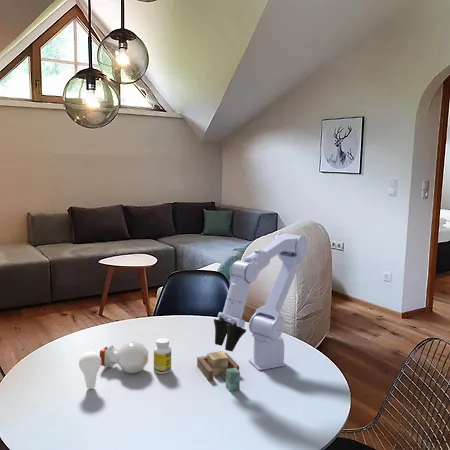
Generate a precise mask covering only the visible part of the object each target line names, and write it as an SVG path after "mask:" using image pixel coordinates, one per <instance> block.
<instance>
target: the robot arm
mask: <svg viewBox="0 0 450 450" xmlns="http://www.w3.org/2000/svg"><path fill="white" fill-rule="evenodd" d="M308 244H309V243H308V238H307V237H306V236H305V235H297V234H291V233H284V232H279V233H277V234H276V235H275V236H274V239H273V241H271V243H269V244H268V245H267V246H266V247H265V248H264V249H257V248H256V249H254V251H253V252H252V253H251V254H249V255H248V256H245V258H243V260H240V259H238V260H236V261H235V262H233V263H232V265H231V266H230V267H229V275H230V277H229V288H228V291H227V294H226V299H225V302H224V307H223V310H222V312H221V311H219V312H218V314H217V319H216V318H214V319H213V324H214V330H215V331H214V332H215V333H214V344H215V345H217V346H223V345H224V342H225V345H224V350H225V351H228V352H233V351H234V350H235V348H236V346H237V344H238V342H239V341H240V339H241V338H242V336H243V335H244V334H245V333H247V329H246V328H245V325H246V320H244V319H242V318H243V314H244V310H245V306H246V303H247V299H248V296H249V291H250V287H251V284H252V283H253V282H255V281H256V280H257V278H258V275H259V274H260V272H261V271H263V270H264V269H265V268H266V267H268V266H269V265H270V263H271V259H273V258H275V257H276V256H278V259H279V260H280V261H281V263H282V264H281V267H280V270H279V272H278V274H277V276H276V279H275V281H274V283H273V286H272V288H271V290H270V293H269V296H268V297H267V300H266V303H265V305H263V306H260V307H258V308H256V310H255V311H254V313H253V315H252V316H251V317H250V320H249V322H248V330H249V332H250V333H251V336H252V337H253V357H251V358H248V361H249V362H250V363H251V364H252V365H253V366H254V368H256V369H257V370H258V371H263V370H268V369H273V368H274V369H275V368H279V367H284V366H285V365H286V364H285V341H284V339H283V337H282V334H283V327H284V324H285V318H284V316H283V315H282V312H281V310H282V308H283V306H284V303H285V301H286V298H287V297H288V296H287V295H288V294H289V290H290V289H291V286H292V284H293V281H294V279H295V277H296V274H297V272H298V270H299V267H300V265H301V264H302V263H303V261H304V259H305V257H306V253H307V251H308V249H309V245H308Z"/></svg>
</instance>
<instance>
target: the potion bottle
mask: <svg viewBox="0 0 450 450" xmlns="http://www.w3.org/2000/svg"><path fill="white" fill-rule="evenodd" d="M99 356H100V358H101V367H102V366H103V367H105V368H106V367H108V368H110V369H112V368H113V367H114V366H115V365H119V367H120V369H121V371H123V372H125V373H127V374H132V375H133V374H137V373H140V372H142V371H143V370H144V369H145V367H146V366H147V364H148V363H149V351H148V350H147V348H146V347H145V345H144V344H143V343H140V342H137V341H130V342H127V343H125V344H123V345H122V346H121V348H120V349H116V348H115V346H114V345H111V346H109V347H108V346H105V347H104V348H102V349H101V350H100V351H99Z"/></svg>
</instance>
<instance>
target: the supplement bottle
mask: <svg viewBox="0 0 450 450" xmlns="http://www.w3.org/2000/svg"><path fill="white" fill-rule="evenodd" d="M155 345H156V346H154V348H153V372H155V373H156V374H160V375H164V374H165V375H166V374H169V373H170V372H171V371H172V347H171V346H170V339H168V338H166V337H161V338H157V339H156V341H155Z"/></svg>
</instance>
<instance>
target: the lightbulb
mask: <svg viewBox="0 0 450 450" xmlns="http://www.w3.org/2000/svg"><path fill="white" fill-rule="evenodd" d="M78 367H79V370H80V371H81V372H82V374H83V376H84V381H85V387H86V389H89V390H93V389H94V388H95V387H96V383H97V382H96V381H97V375H98V372H99V370H100V368H101V367H102V365H101V358H100V354H99V353H98V352H95V351H87V352H85V353H83V354H82V355H81V356H80V358H79V361H78Z"/></svg>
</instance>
